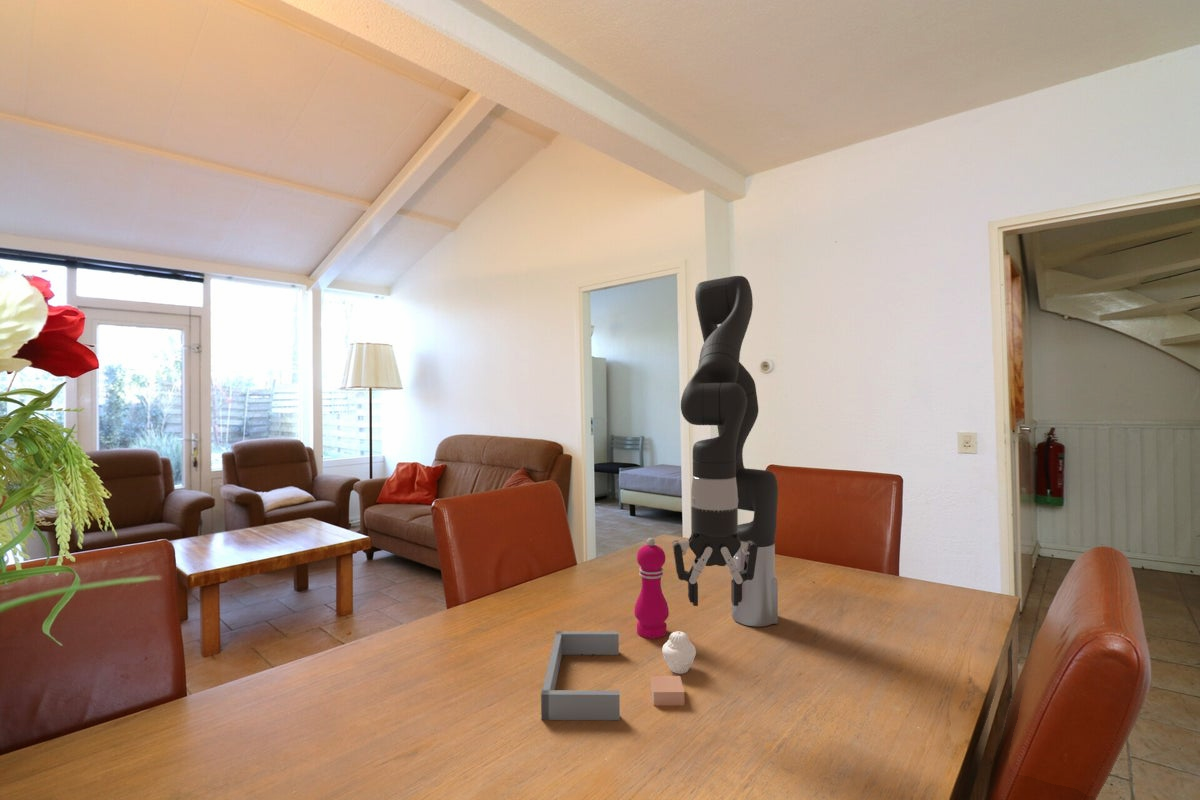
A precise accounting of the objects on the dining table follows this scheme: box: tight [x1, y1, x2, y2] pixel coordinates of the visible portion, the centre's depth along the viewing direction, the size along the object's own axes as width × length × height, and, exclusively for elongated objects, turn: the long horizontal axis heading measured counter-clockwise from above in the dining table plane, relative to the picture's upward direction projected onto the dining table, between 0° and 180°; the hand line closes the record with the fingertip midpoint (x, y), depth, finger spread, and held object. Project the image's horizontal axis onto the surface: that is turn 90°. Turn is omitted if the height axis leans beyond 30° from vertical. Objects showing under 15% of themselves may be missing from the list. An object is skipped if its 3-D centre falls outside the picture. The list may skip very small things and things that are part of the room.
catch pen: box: [540, 630, 621, 721], centre depth 98 cm, size 12×22×4 cm, turn 178°
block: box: [650, 675, 685, 707], centre depth 93 cm, size 5×5×2 cm
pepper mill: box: [633, 537, 670, 639], centre depth 117 cm, size 7×7×20 cm
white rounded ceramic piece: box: [661, 630, 697, 675], centre depth 102 cm, size 6×6×7 cm
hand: (714, 603), depth 92 cm, fingers open, 6 cm apart
